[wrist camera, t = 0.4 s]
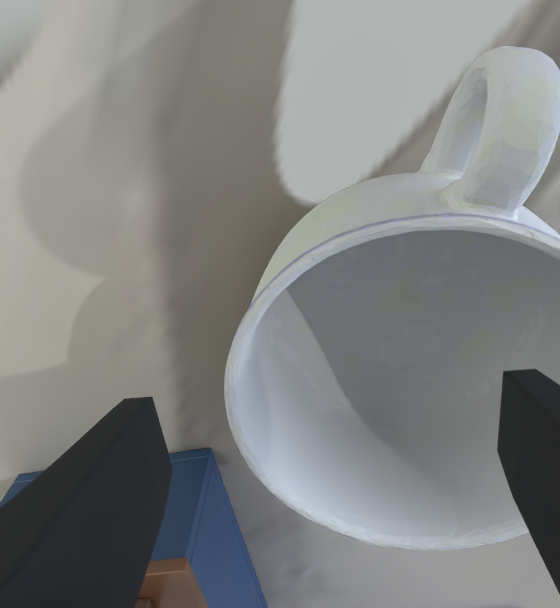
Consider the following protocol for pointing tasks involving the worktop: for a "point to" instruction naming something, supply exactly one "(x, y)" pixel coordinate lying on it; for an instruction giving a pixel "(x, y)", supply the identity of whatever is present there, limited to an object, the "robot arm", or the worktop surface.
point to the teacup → (410, 328)
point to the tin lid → (170, 586)
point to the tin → (199, 531)
